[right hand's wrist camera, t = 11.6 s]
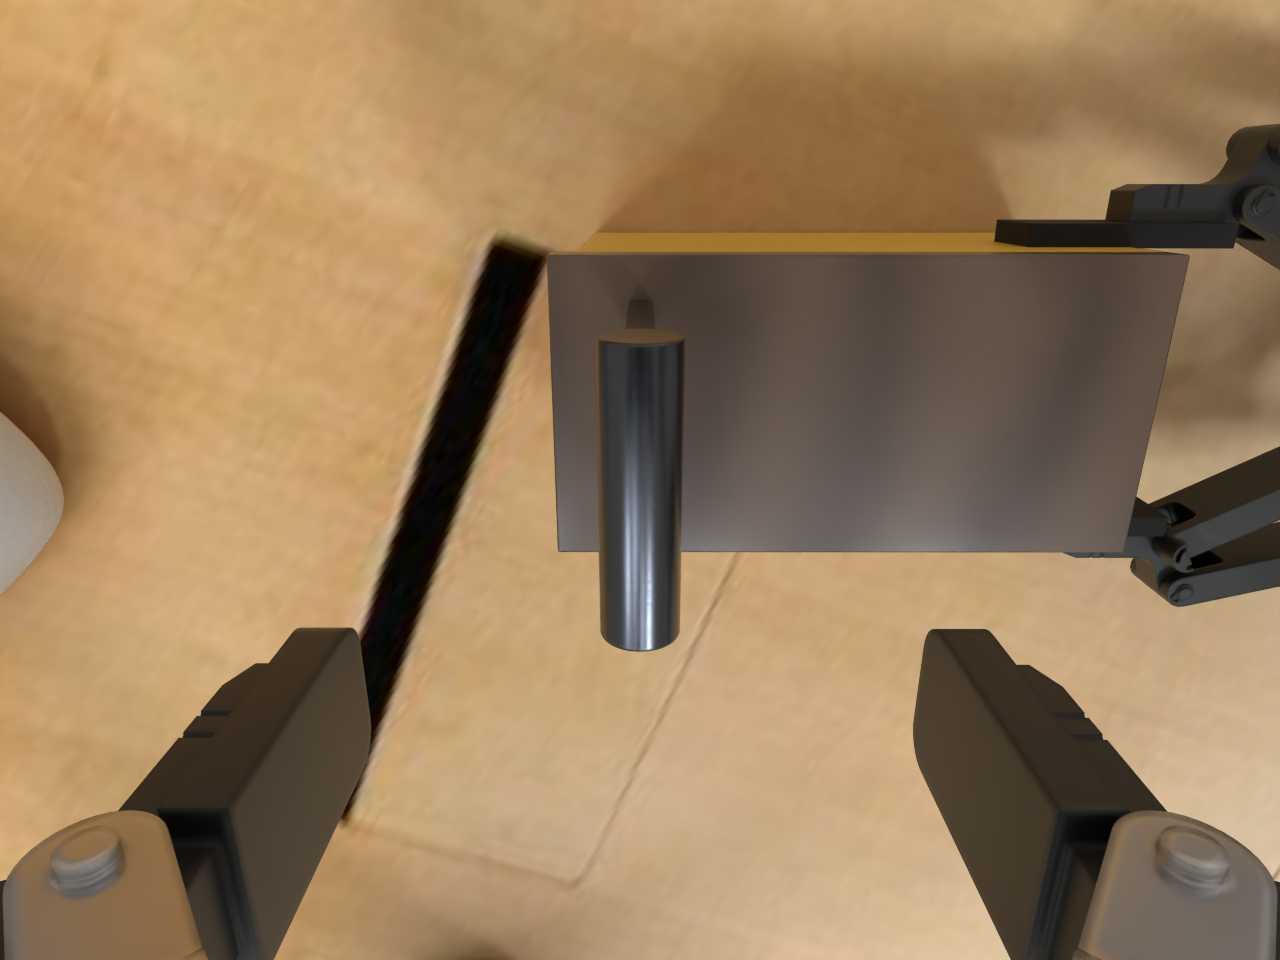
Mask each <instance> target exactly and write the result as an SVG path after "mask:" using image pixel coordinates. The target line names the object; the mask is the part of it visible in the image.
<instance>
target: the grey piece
mask: <svg viewBox="0 0 1280 960" xmlns="http://www.w3.org/2000/svg"><path fill="white" fill-rule="evenodd" d="M63 508H64V495H63V489H62V485H61V483H60V480H59V478H58V476H57V474H56V472H55V471H54V469H53V467H52V465H51V464H50V463H49V461H48V460H47V459H46V457H45V456H44V455H43V454H42V453H41V451H40V450H39V449H38V448H37V447H36V446H35V445H34V443H33V442H32V441H31V440H30V439H29V438H28V437H27V436H26V435H25V434H24V433H23V432H22V431H21V430H20V429H19V428H18V427H17V426H15V425H14V424H13V423H12V422H11V421H10V420H9V419H8V418H7V417H6V416H5V415H3V414H2V413H1V412H0V595H1V594H2V593H3V592H4V591H5V590H6V589H7V588H8V587H9V586H10V585H11V584H12V583H13V582H14V581H15V580H16V579H17V578H18V577H19V576H20V575H21V574H22V572H23V571H24V570H25V569H26V568H27V567H28V566H29V565H30V563H31V562H32V561H33V560H34V559H35V558H36V556H37V555H38V554H39V553H40V552H41V550H42V549H43V547H44V546H45V545H46V543H47V542H48V541H49V539H50V538H51V536H52V534H53V533H54V531H55V529H56V528H57V526H58V524H59V521H60V519H61V516H62V513H63Z"/></svg>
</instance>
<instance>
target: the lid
mask: <svg viewBox="0 0 1280 960" xmlns="http://www.w3.org/2000/svg"><path fill="white" fill-rule="evenodd" d="M1189 258H1190V257H1189V255H1185V254H1178V253H1170V252H551V253H550V254H549V255H548V256H547V273H548V299H549V325H550V352H551V378H552V405H553V431H554V457H555V484H556V510H557V537H558V551H559V552H599V577H600V629H601V634H602V636H603V638H604V639H605V641H607V642H608V643H609V644H611V645H612V646H614V647H617V648H620V649H623V650H628V651H639V652H641V651H652V650H657V649H661V648H663V647H666V646H668V645H669V644H671V643H672V642H674V641H675V640H676V638H677V637H678V635H679V632H680V587H681V552H1124V548H1125V544H1126V539H1127V535H1128V530H1129V526H1130V521H1131V517H1132V512H1133V508H1134V504H1135V499H1136V495H1137V490H1138V486H1139V481H1140V477H1141V472H1142V468H1143V463H1144V459H1145V454H1146V450H1147V445H1148V441H1149V436H1150V432H1151V428H1152V423H1153V419H1154V414H1155V410H1156V405H1157V401H1158V396H1159V392H1160V387H1161V383H1162V378H1163V374H1164V369H1165V365H1166V360H1167V356H1168V352H1169V347H1170V343H1171V338H1172V334H1173V329H1174V325H1175V320H1176V316H1177V311H1178V307H1179V302H1180V298H1181V293H1182V289H1183V284H1184V280H1185V276H1186V271H1187V267H1188V262H1189Z"/></svg>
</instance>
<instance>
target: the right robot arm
mask: <svg viewBox="0 0 1280 960" xmlns="http://www.w3.org/2000/svg"><path fill="white" fill-rule="evenodd" d="M370 739H371V720H370V712H369V705H368V697H367V690H366V683H365V675H364V668H363V661H362V653H361V646H360V640H359V637H358V634H357V632H356V631H355V630H354V629H353V628H297V629H296V630H295V631H294V632H293V633H292V634H291V635H290V636H289V638H288V639H287V640H286V642H285V643H284V644H283V646H282V647H281V648H280V649H279V651H278V652H277V653H276V655H275V656H274V657H273V658H272V660H271V661H270V662H269V663H256V664H254V665H253V666H251V667H250V668H248V669H247V670H245V671H243V672H242V673H240V674H239V675H237V676H236V677H234V678H233V679H231V680H230V681H228V682H227V683H225V684H224V685H222V686H221V688H220V689H219V690H218V691H217V692H216V694H215V695H214V696H213V697H212V698H211V700H210V701H209V702H208V703H207V704H206V706H205V707H204V708H203V709H202V710H201V716H197V717H196V718H195V719H194V720H193V721H192V723H191V724H190V725H189V726H188V727H187V729H186V730H185V731H184V732H183V738H178V739H177V741H176V742H175V743H174V744H173V745H172V747H171V748H170V749H169V750H168V751H167V753H166V754H165V755H164V756H163V757H162V759H161V760H160V761H159V762H158V763H157V765H156V766H155V767H154V768H153V769H152V771H151V772H150V773H149V774H148V775H147V777H146V778H145V779H144V780H143V781H142V783H141V784H140V785H139V786H138V788H137V789H136V790H135V791H134V792H133V794H132V795H131V796H130V797H129V798H128V800H127V801H126V802H125V803H124V804H123V806H122V807H121V808H120V809H119V810H118V811H116V812H109V813H105V814H101V815H96V816H93V817H90V818H87V819H84V820H82V821H79V822H77V823H74V824H72V825H70V826H68V827H66V828H64V829H62V830H60V831H58V832H56V833H54V834H53V835H51V836H50V837H48V838H46V839H45V840H43V841H42V842H41V843H39V844H38V845H37V846H35V847H34V848H33V849H31V850H30V851H29V852H28V853H27V854H26V855H25V856H24V857H23V858H22V859H21V860H20V861H19V862H18V863H17V865H16V866H15V867H14V868H13V870H12V871H11V873H10V874H9V876H8V877H7V880H4V881H0V960H274V958H275V956H276V954H277V951H278V949H279V947H280V945H281V943H282V941H283V939H284V937H285V934H286V932H287V930H288V928H289V926H290V924H291V922H292V920H293V918H294V915H295V913H296V911H297V909H298V907H299V905H300V903H301V901H302V898H303V896H304V894H305V892H306V890H307V888H308V886H309V884H310V881H311V879H312V877H313V875H314V873H315V871H316V869H317V867H318V865H319V862H320V860H321V858H322V856H323V854H324V852H325V850H326V848H327V845H328V843H329V841H330V839H331V837H332V835H333V833H334V831H335V828H336V826H337V824H338V822H339V820H340V818H341V816H342V814H343V812H344V809H345V807H346V805H347V803H348V801H349V799H350V797H351V795H352V792H353V790H354V788H355V786H356V784H357V782H358V780H359V778H360V775H361V773H362V771H363V769H364V767H365V764H366V761H367V757H368V753H369V747H370ZM913 739H914V748H915V754H916V758H917V762H918V765H919V768H920V770H921V772H922V775H923V777H924V779H925V781H926V783H927V785H928V787H929V789H930V791H931V793H932V795H933V798H934V800H935V802H936V804H937V806H938V808H939V810H940V812H941V814H942V816H943V819H944V821H945V823H946V825H947V827H948V829H949V831H950V833H951V835H952V837H953V839H954V842H955V844H956V846H957V848H958V850H959V852H960V854H961V856H962V858H963V860H964V863H965V865H966V867H967V869H968V871H969V873H970V875H971V877H972V879H973V881H974V883H975V886H976V888H977V890H978V892H979V894H980V896H981V898H982V900H983V902H984V904H985V907H986V909H987V911H988V913H989V915H990V917H991V919H992V921H993V923H994V925H995V927H996V930H997V932H998V934H999V936H1000V938H1001V940H1002V942H1003V944H1004V946H1005V948H1006V950H1007V953H1008V955H1009V957H1010V959H1011V960H1280V882H1277V881H1274V880H1273V877H1272V876H1271V874H1270V873H1269V871H1268V870H1267V868H1266V867H1265V866H1264V865H1263V863H1262V862H1261V861H1260V860H1259V859H1258V858H1257V857H1256V856H1255V855H1254V854H1253V853H1252V852H1251V851H1250V850H1249V849H1247V848H1246V847H1245V846H1243V845H1242V844H1241V843H1239V842H1238V841H1237V840H1235V839H1234V838H1232V837H1230V836H1229V835H1227V834H1226V833H1224V832H1222V831H1220V830H1218V829H1216V828H1214V827H1212V826H1210V825H1208V824H1206V823H1203V822H1201V821H1198V820H1196V819H1193V818H1190V817H1187V816H1184V815H1179V814H1175V813H1171V812H1167V811H1166V810H1165V808H1164V807H1163V806H1162V805H1161V804H1160V802H1159V801H1158V800H1157V799H1156V798H1155V796H1154V795H1153V794H1152V793H1151V792H1150V790H1149V789H1148V788H1147V787H1146V786H1145V784H1144V783H1143V782H1142V781H1141V780H1140V778H1139V777H1138V776H1137V775H1136V774H1135V773H1134V771H1133V770H1132V769H1131V768H1130V767H1129V765H1128V764H1127V763H1126V762H1125V761H1124V759H1123V758H1122V757H1121V756H1120V755H1119V753H1118V752H1117V751H1116V750H1115V749H1114V747H1113V746H1112V745H1111V744H1110V743H1109V742H1108V740H1103V737H1102V733H1101V732H1100V731H1099V730H1098V728H1097V727H1096V726H1095V725H1094V724H1093V722H1092V721H1091V720H1090V719H1089V718H1085V716H1084V712H1083V711H1082V709H1081V708H1080V707H1079V706H1078V705H1077V703H1076V702H1075V701H1074V700H1073V699H1072V697H1071V696H1070V695H1069V694H1068V693H1067V691H1066V690H1065V689H1064V688H1063V687H1062V686H1060V685H1059V684H1057V683H1056V682H1054V681H1053V680H1051V679H1050V678H1048V677H1047V676H1045V675H1044V674H1042V673H1041V672H1039V671H1038V670H1036V669H1035V668H1033V667H1031V666H1030V665H1016V664H1015V663H1014V661H1013V660H1012V659H1011V657H1010V656H1009V655H1008V654H1007V652H1006V651H1005V650H1004V648H1003V647H1002V646H1001V645H1000V643H999V642H998V641H997V639H996V638H995V637H994V636H993V634H992V633H991V632H990V631H988V630H986V629H932V630H930V631H929V633H928V634H927V636H926V639H925V643H924V649H923V656H922V664H921V671H920V678H919V686H918V693H917V700H916V707H915V715H914V723H913Z"/></svg>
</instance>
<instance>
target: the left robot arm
mask: <svg viewBox="0 0 1280 960" xmlns="http://www.w3.org/2000/svg"><path fill="white" fill-rule="evenodd" d="M1226 153H1227V157H1228V160H1227V162H1226V164H1225V165H1224V167H1223V169H1222V170H1221V171H1220V173H1219V174H1218V175H1217V176H1216V177H1215V178H1213V179H1212V180H1210V181H1208V182H1206V183H1203V184H1126V185H1124V186H1121V187H1119V188H1116V189H1114V190H1111V193H1110V198H1109V203H1108V209H1107V214H1106V219H1105V220H997V224H996V231H995V238H994V242H1000V243H1006V244H1012V245H1018V246H1024V247H1132V248H1234V244H1235V242H1236V243H1238V244H1239V245H1241V246H1243V247H1244V248H1246V249H1247V250H1249V251H1250V252H1252V253H1254V254H1255V255H1257V256H1258V257H1260V258H1262V259H1263V260H1265V261H1266V262H1268V263H1270V264H1271V265H1273V266H1274V267H1276V268H1278V269H1279V270H1280V124H1273V125H1263V126H1252V127H1245V128H1242V129H1240V130H1238V131H1237V132H1236V133H1234V134H1233V135H1232V137H1231V138H1230V140H1229V141H1228V144H1227V148H1226ZM1279 520H1280V447H1277V448H1275V449H1273V450H1271V451H1268V452H1266V453H1264V454H1262V455H1259V456H1257V457H1255V458H1252V459H1250V460H1248V461H1246V462H1243V463H1241V464H1239V465H1236V466H1234V467H1232V468H1230V469H1227V470H1225V471H1223V472H1221V473H1218V474H1216V475H1214V476H1211V477H1209V478H1207V479H1205V480H1202V481H1200V482H1198V483H1195V484H1193V485H1191V486H1189V487H1186V488H1184V489H1182V490H1180V491H1177V492H1175V493H1173V494H1170V495H1168V496H1166V497H1164V498H1161V499H1159V500H1157V501H1154V502H1152V503H1150V504H1147V503H1146V502H1144V501H1142V500H1141V499H1139V498H1138V497H1136V499H1135V504H1134V508H1133V512H1132V517H1131V521H1130V526H1129V530H1128V535H1127V539H1126V544H1125V548H1124V552H1063V553H1065V554H1068V555H1070V556H1073V557H1075V558H1090V557H1093V558H1101V557H1103V558H1133V560H1132V561H1131V566H1130V568H1131V572H1132V573H1133V574H1134V575H1135V576H1136V577H1137V578H1139V579H1140V580H1141V581H1142V582H1144V583H1145V584H1146V585H1147V586H1149V587H1150V588H1151V589H1152V590H1154V591H1155V592H1156V593H1157V594H1159V595H1160V596H1161V597H1163V598H1164V599H1165V600H1166V601H1168V602H1169V603H1170V604H1171V605H1174V606H1177V607H1181V606H1188V605H1193V604H1197V603H1202V602H1207V601H1212V600H1217V599H1221V598H1226V597H1231V596H1236V595H1241V594H1245V593H1250V592H1255V591H1260V590H1264V589H1269V588H1274V587H1279V586H1280V522H1277V523H1274V522H1276V521H1279Z"/></svg>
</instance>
